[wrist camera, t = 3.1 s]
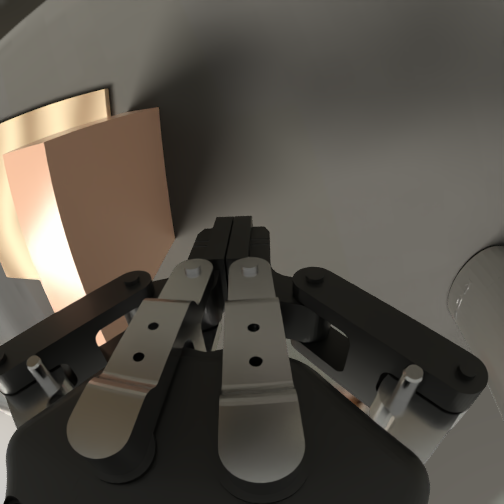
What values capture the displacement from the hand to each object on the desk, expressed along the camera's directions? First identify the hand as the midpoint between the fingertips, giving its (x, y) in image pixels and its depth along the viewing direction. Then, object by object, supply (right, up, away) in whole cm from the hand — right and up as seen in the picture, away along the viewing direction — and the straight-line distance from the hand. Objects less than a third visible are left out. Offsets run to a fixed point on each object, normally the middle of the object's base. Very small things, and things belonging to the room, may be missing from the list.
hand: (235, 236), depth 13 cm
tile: (-7, +5, +7) cm, 11 cm away
